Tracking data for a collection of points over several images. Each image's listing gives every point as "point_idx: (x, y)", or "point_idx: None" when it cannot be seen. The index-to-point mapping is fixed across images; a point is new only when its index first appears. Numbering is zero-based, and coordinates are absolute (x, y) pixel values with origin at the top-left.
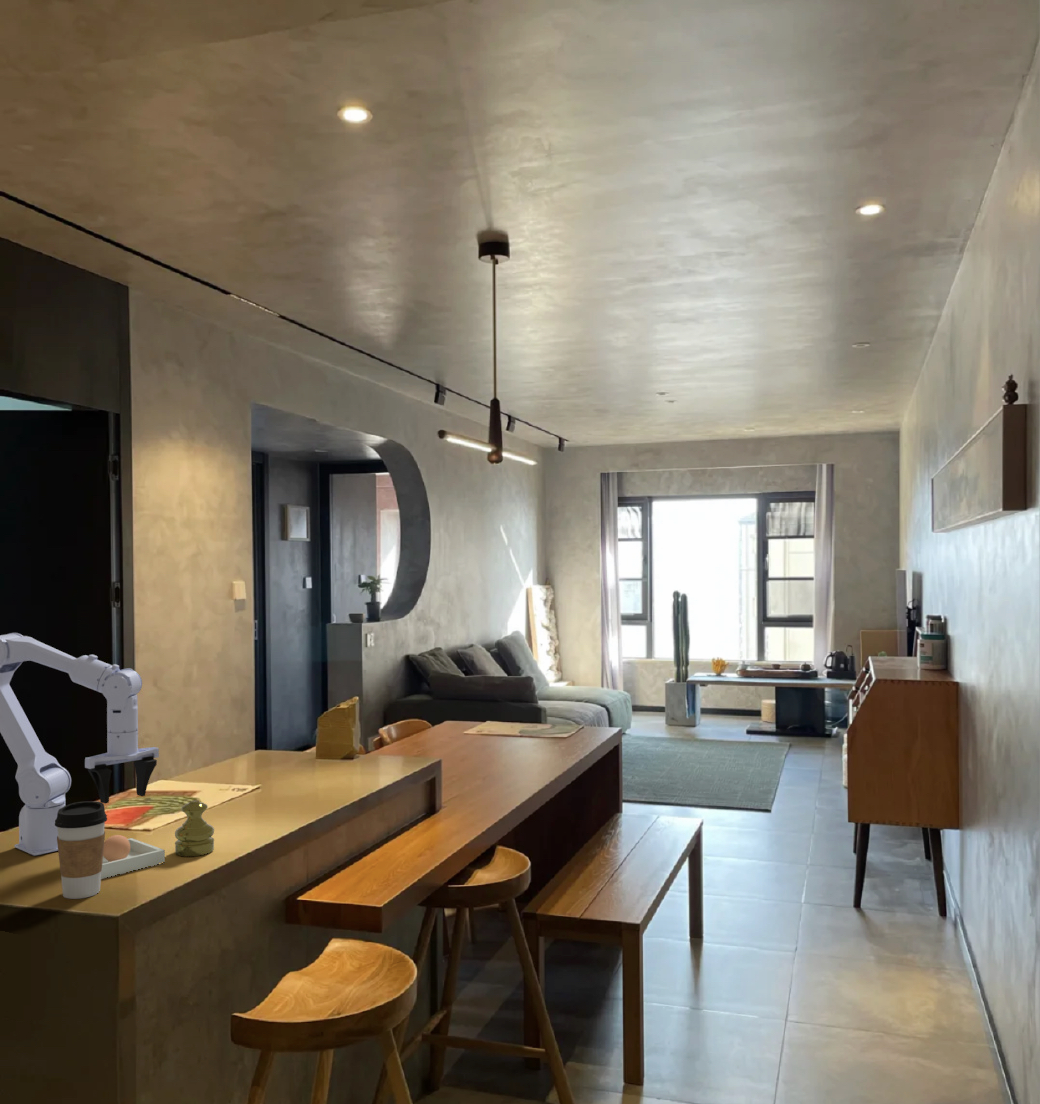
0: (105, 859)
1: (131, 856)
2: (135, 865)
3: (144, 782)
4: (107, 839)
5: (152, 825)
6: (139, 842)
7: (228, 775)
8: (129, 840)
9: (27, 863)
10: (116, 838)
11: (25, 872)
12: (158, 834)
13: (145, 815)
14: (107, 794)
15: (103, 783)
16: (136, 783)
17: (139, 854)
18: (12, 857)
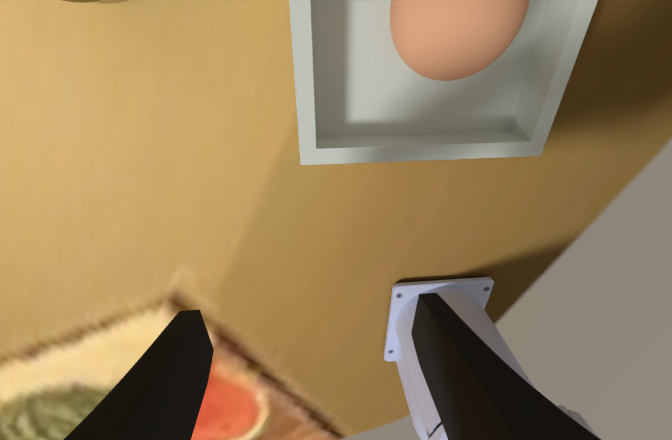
0: (433, 85)
1: (353, 39)
2: None
3: (145, 392)
4: (516, 25)
5: (154, 332)
6: (307, 70)
7: None
8: (317, 147)
9: (536, 239)
10: None
11: (603, 170)
12: (162, 253)
13: None
14: (456, 330)
15: (558, 412)
16: (193, 426)
17: (318, 41)
18: (513, 298)
